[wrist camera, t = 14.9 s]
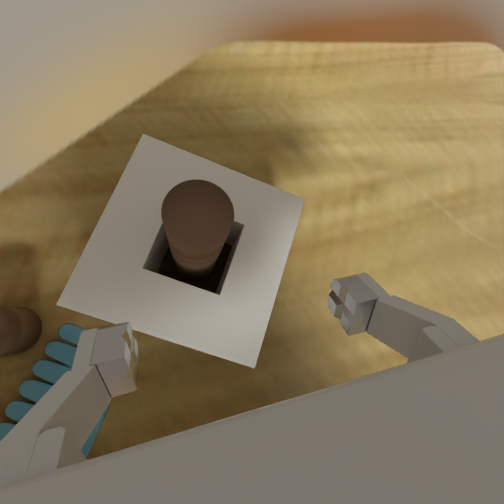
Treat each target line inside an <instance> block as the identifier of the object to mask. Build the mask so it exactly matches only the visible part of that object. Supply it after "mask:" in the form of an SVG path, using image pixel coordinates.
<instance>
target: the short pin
mask: <svg viewBox="0 0 504 504" xmlns="http://www.w3.org/2000/svg"><path fill="white" fill-rule="evenodd" d="M41 330H42V324H41V320H40V318H39V317H38V315H37V314H36V313H35V312H33V311H31V310H29V309H26V308H15V307H0V357H4V356H8V355H13V354H18V353H21V352H24V351H26V350H28V349H29V348H31V347H32V346H33V345H34V344H35V343H36V342H37V340H38V339H39V337H40V334H41Z"/></svg>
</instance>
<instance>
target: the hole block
mask: <svg viewBox="0 0 504 504" xmlns="http://www.w3.org/2000/svg"><path fill="white" fill-rule="evenodd" d="M195 179H197V180H205V181H209V182H212V183H214V184H216V185H217V186H219V187H220V188H222V189H223V190H224V191H225V192H226V194H227V195H228V196H229V198H230V200H231V202H232V204H233V208H234V222H233V225H232V228H231V230H230V232H229V234H228V236H227V239H226V241H225V243H226V244H229V245H232V248H231V251H230V253H229V256H228V259H227V262H226V265H225V268H224V270H223V273H222V276H221V279H220V282H219V284H218V287H217V290H216V293H212V292H209V291H206V290H203V289H200V288H198V287H195V286H192V285H189V284H186V283H183V282H180V281H177V280H175V279H172V278H169V277H166V276H163V275H160V274H157V272H158V270H159V268H160V265H161V263H162V260H163V258H164V256H165V253H166V251H167V249H168V246H169V242H168V239H167V235H166V232H165V228H164V225H163V222H162V217H161V208H162V203H163V200H164V198H165V196H166V195H167V193H168V192H169V191H170V190H171V189H172V188H173V187H174V186H176V185H177V184H179V183H181V182H184V181H188V180H195ZM304 200H305V199H303V198H300V197H298V196H296V195H293V194H291V193H288V192H286V191H283V190H281V189H278V188H276V187H273V186H271V185H268V184H266V183H264V182H261V181H259V180H256V179H254V178H251V177H249V176H246V175H244V174H241V173H239V172H236V171H234V170H232V169H229V168H227V167H224V166H222V165H219V164H217V163H214V162H212V161H209V160H207V159H204V158H202V157H200V156H197V155H195V154H192V153H190V152H187V151H185V150H182V149H180V148H177V147H175V146H172V145H170V144H168V143H165V142H163V141H160V140H158V139H155V138H153V137H150V136H148V135H145V134H143V135H142V137H141V139H140V141H139V143H138V145H137V147H136V149H135V151H134V153H133V154H132V156H131V158H130V160H129V162H128V164H127V166H126V168H125V170H124V172H123V174H122V176H121V178H120V180H119V182H118V184H117V186H116V188H115V190H114V192H113V194H112V196H111V198H110V200H109V202H108V204H107V206H106V208H105V210H104V212H103V213H102V215H101V217H100V219H99V221H98V223H97V225H96V227H95V229H94V231H93V233H92V235H91V237H90V239H89V241H88V243H87V245H86V247H85V249H84V251H83V253H82V255H81V257H80V259H79V261H78V263H77V265H76V267H75V269H74V271H73V272H72V274H71V276H70V278H69V280H68V282H67V284H66V286H65V288H64V290H63V292H62V294H61V296H60V298H59V300H58V302H57V304H56V305H58V306H61V307H64V308H67V309H70V310H73V311H76V312H79V313H83V314H86V315H89V316H92V317H95V318H98V319H101V320H104V321H108V322H111V323H114V324H119V323H125V322H130V324H131V327H132V329H133V330H136V331H139V332H142V333H145V334H148V335H151V336H154V337H158V338H161V339H164V340H167V341H170V342H173V343H176V344H179V345H182V346H186V347H189V348H192V349H195V350H198V351H201V352H204V353H207V354H211V355H214V356H217V357H220V358H223V359H226V360H229V361H232V362H236V363H239V364H242V365H245V366H248V367H251V368H254V369H255V366H256V363H257V359H258V356H259V352H260V349H261V346H262V342H263V339H264V335H265V332H266V329H267V325H268V322H269V319H270V315H271V312H272V308H273V305H274V302H275V298H276V295H277V291H278V288H279V285H280V281H281V278H282V275H283V271H284V268H285V264H286V261H287V258H288V254H289V251H290V247H291V244H292V241H293V237H294V234H295V231H296V227H297V224H298V220H299V217H300V214H301V210H302V207H303V204H304Z"/></svg>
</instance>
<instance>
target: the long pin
mask: <svg viewBox="0 0 504 504" xmlns="http://www.w3.org/2000/svg"><path fill="white" fill-rule="evenodd" d="M161 217H162V222H163V225H164V228H165V232H166V235H167V239H168V242H169V246H170V249H171V253H172V256H173V260H174V263H175V267H176V270H177V272H178V273H179V274H180V275H181V276H182V277H183V278H184V279H186V280H190V281H199V280H202V279H204V278H206V277H207V276H208V275H209V274H210V273H211V271H212V269H213V267H214V265H215V262H216V260H217V258H218V256H219V254H220V252H221V249H222V247H223V245H224V243H225V241H226V239H227V236H228V234H229V232H230V230H231V228H232V225H233V222H234V208H233V204H232V202H231V200H230V198H229V196H228V195H227V194H226V192H225V191H224V190H223V189H222V188H220V187H219V186H217V185H216V184H214V183H212V182H209V181H205V180H197V179H195V180H188V181H184V182H181V183H179V184H177V185H176V186H174V187H173V188H172V189H171V190H170V191H169V192H168V193H167V195H166V196H165V198H164V200H163V203H162V208H161Z"/></svg>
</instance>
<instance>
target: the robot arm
mask: <svg viewBox="0 0 504 504" xmlns="http://www.w3.org/2000/svg"><path fill="white" fill-rule="evenodd" d="M330 287H331V289H332V290H333V291H332V292H331V293H330V294H329V297H328V304H329V308H330V310H331V312H332V314H333V315H334V316H335V317H337V318H339V319H340V325H341V326H342V328H343V329H344V330H345V332H346V333H347V334H348V336H349V335H353V334H357V333H362V332H366V331H367V333H368V334H370V335H371V336H373V337H375V338H376V339H378V340H379V341H381V342H383V343H384V344H386V345H387V346H389V347H391V348H392V349H394V350H395V351H397V352H399V353H400V354H402V355H403V356H405V357H407V358H408V361H407V363H406V364H403V365H399V366H396V367H393V368H389V369H386V370H383V371H380V372H376V373H373V374H370V375H366V376H363V377H360V378H356V379H353V380H350V381H347V382H343V383H340V384H337V385H333V386H330V387H327V388H324V389H320V390H317V391H314V392H310V393H307V394H304V395H301V396H297V397H294V398H291V399H287V400H284V401H281V402H277V403H274V404H271V405H268V406H264V407H261V408H258V409H254V410H251V411H248V412H244V413H241V414H238V415H234V416H231V417H228V418H225V419H221V420H218V421H215V422H211V423H208V424H205V425H201V426H198V427H195V428H192V429H188V430H185V431H182V432H178V433H175V434H172V435H168V436H165V437H162V438H158V439H155V440H152V441H149V442H145V443H142V444H139V445H135V446H132V447H129V448H125V449H122V450H119V451H116V452H112V453H109V454H106V455H102V456H99V457H96V458H92V459H89V460H87V459H86V457H85V456H84V454H83V453H82V452H81V449H82V447H83V445H84V444H85V442H86V441H87V439H88V437H89V436H90V434H91V432H92V431H93V429H94V427H95V426H96V424H97V423H98V421H99V419H100V418H101V416H102V414H103V413H104V411H105V410H106V408H107V406H108V405H109V403H110V401H111V400H112V399H111V398H113V397H117V396H120V395H124V394H127V393H130V392H134V391H137V389H138V372H137V369H136V366H137V364H138V363H139V354H138V346H137V341H136V338H135V337H134V336H132V327H131V324H130V322H125V323H119V324H114V325H108V326H103V327H99V328H94V329H88V330H83V331H82V333H81V334H80V338H79V342H78V346H77V349H76V353H75V357H74V361H73V365H72V369H71V371H67V372H65V374H64V375H63V376H62V377H61V378H60V379H59V380H58V381H57V382H56V383H55V384H54V385H53V386H52V387H51V388H50V389H49V390H48V392H47V393H46V394H45V395H44V396H43V397H42V398H41V399H40V400H39V401H38V402H37V403H36V404H35V405H34V406H33V407H32V408H31V410H30V411H29V412H28V413H27V414H26V415H25V416H24V417H23V418H22V419H21V420H20V421H19V422H18V423H17V424H16V425H15V427H14V428H13V429H12V430H11V431H10V432H9V433H8V434H7V435H6V436H5V437H4V438H3V439H2V440H1V441H0V504H504V334H502V335H498V336H495V337H492V338H489V339H485V340H482V341H479V340H478V339H476V338H475V337H474V336H473V335H472V334H470V333H469V332H468V331H467V330H466V329H465V328H463V327H462V326H461V325H460V324H459V323H457V322H456V321H455V320H454V319H452V318H450V317H447V316H445V315H442V314H440V313H437V312H435V311H432V310H430V309H427V308H424V307H422V306H419V305H417V304H414V303H412V302H409V301H407V300H404V299H402V298H399V297H397V296H394V295H393V296H390V295H389V294H388V293H387V292H386V291H385V290H384V289H383V288H382V287H381V286H380V285H379V284H378V283H377V282H376V281H375V280H374V279H373V278H372V277H370V276H369V275H368V274H367V273H361V274H356V275H352V276H347V277H343V278H338V279H334V280H333V281H332V282H331V286H330Z"/></svg>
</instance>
